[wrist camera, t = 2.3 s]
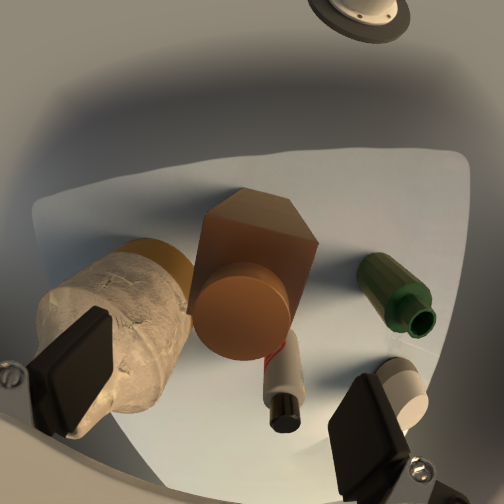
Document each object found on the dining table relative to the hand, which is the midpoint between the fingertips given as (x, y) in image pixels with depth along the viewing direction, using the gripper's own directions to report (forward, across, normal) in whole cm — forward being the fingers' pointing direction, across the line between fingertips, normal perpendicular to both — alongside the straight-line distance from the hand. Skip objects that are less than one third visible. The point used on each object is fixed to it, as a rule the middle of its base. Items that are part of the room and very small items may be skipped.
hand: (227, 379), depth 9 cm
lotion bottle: (+35, -9, +19) cm, 41 cm away
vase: (+35, +15, +16) cm, 42 cm away
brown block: (+35, 0, -1) cm, 35 cm away
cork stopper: (+9, 0, 0) cm, 9 cm away
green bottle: (+35, -21, +3) cm, 41 cm away
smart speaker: (+35, -34, +22) cm, 54 cm away
